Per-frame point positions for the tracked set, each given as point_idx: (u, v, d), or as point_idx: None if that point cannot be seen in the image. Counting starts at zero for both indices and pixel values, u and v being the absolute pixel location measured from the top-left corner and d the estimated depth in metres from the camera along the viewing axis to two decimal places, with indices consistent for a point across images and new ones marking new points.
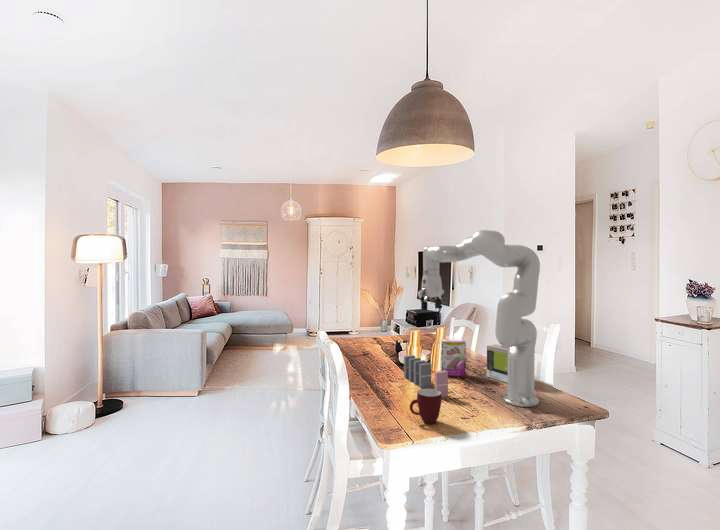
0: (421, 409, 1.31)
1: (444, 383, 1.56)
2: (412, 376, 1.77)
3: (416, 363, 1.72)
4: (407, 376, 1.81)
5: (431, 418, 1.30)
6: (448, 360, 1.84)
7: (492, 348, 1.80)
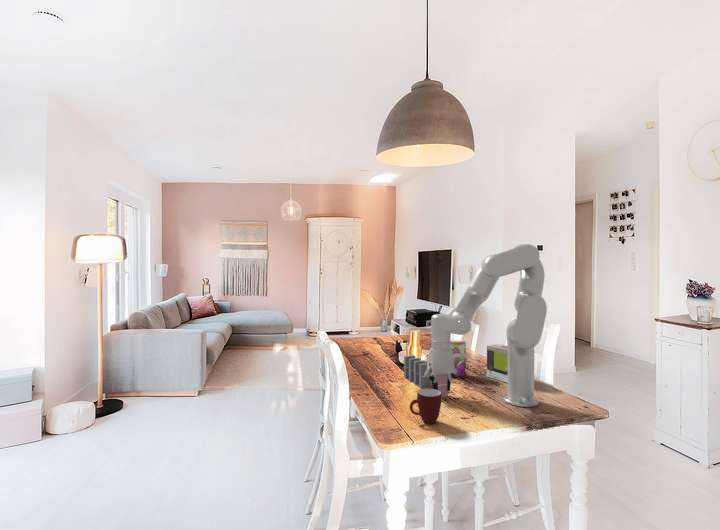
0: (421, 409, 1.31)
1: (444, 383, 1.56)
2: (412, 376, 1.77)
3: (416, 363, 1.72)
4: (407, 376, 1.81)
5: (431, 418, 1.30)
6: None
7: (492, 348, 1.80)
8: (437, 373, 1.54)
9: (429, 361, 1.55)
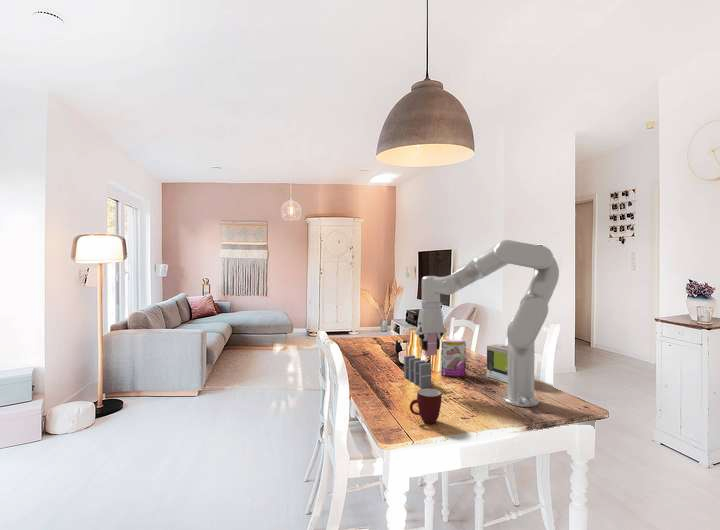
0: (421, 409, 1.31)
1: (434, 341, 1.64)
2: (412, 376, 1.77)
3: (416, 363, 1.72)
4: (407, 376, 1.81)
5: (431, 418, 1.30)
6: (448, 360, 1.84)
7: (492, 348, 1.80)
8: (427, 331, 1.61)
9: (419, 320, 1.62)
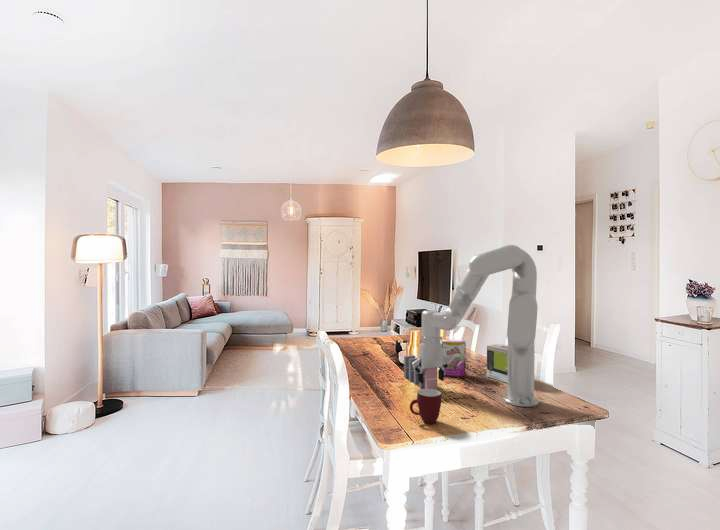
0: (421, 409, 1.31)
1: (434, 377, 1.64)
2: (412, 376, 1.77)
3: None
4: (407, 376, 1.81)
5: (431, 418, 1.30)
6: None
7: (492, 348, 1.80)
8: (427, 366, 1.61)
9: (419, 355, 1.63)
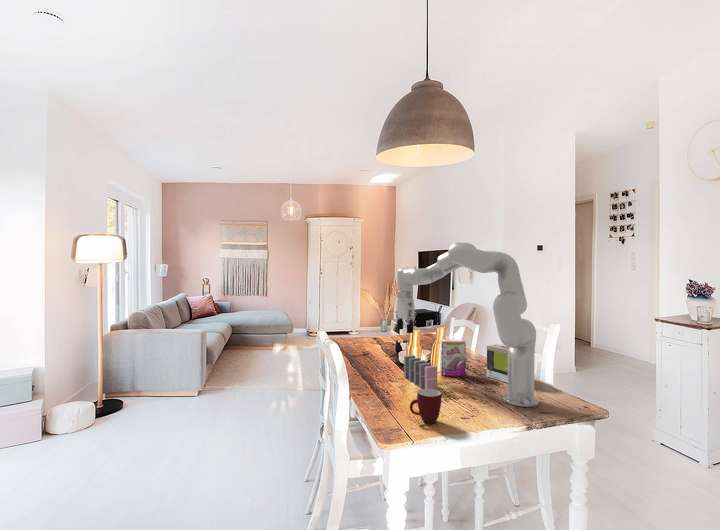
0: (421, 409, 1.31)
1: (434, 377, 1.64)
2: (412, 376, 1.77)
3: (416, 363, 1.72)
4: (407, 376, 1.81)
5: (431, 418, 1.30)
6: (448, 360, 1.84)
7: (492, 348, 1.80)
8: (398, 316, 1.88)
9: None
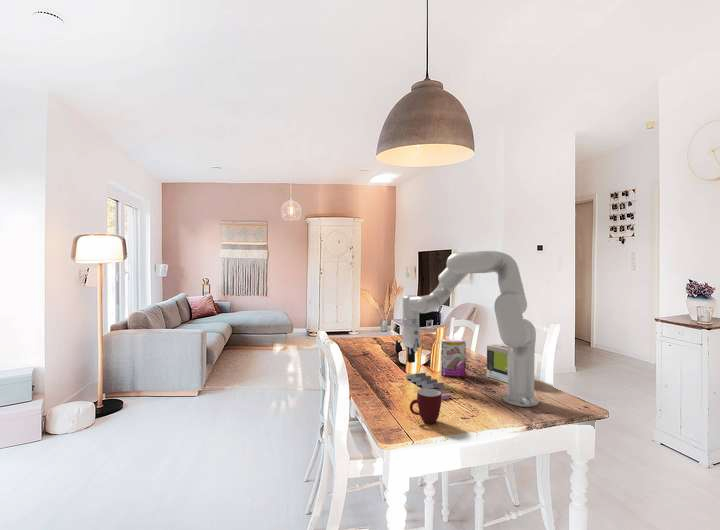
0: (421, 409, 1.31)
1: None
2: (415, 381, 1.74)
3: None
4: (409, 378, 1.80)
5: (431, 418, 1.30)
6: (448, 360, 1.84)
7: (492, 348, 1.80)
8: (404, 343, 1.83)
9: None
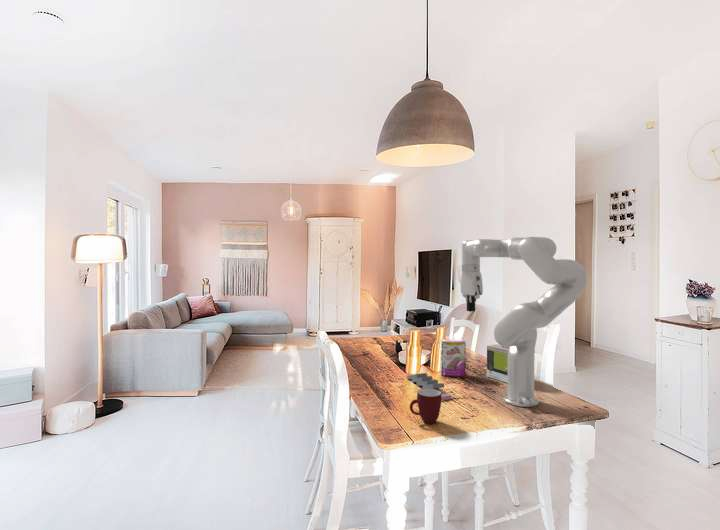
0: (421, 409, 1.31)
1: None
2: (416, 381, 1.73)
3: (427, 384, 1.62)
4: None
5: (431, 418, 1.30)
6: (448, 360, 1.84)
7: (492, 348, 1.80)
8: (462, 292, 1.73)
9: None
